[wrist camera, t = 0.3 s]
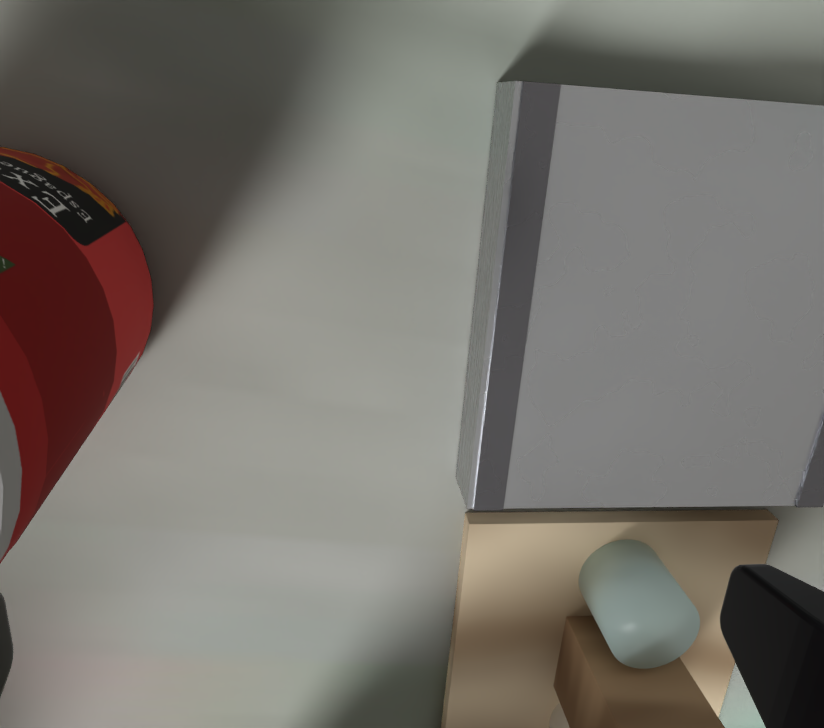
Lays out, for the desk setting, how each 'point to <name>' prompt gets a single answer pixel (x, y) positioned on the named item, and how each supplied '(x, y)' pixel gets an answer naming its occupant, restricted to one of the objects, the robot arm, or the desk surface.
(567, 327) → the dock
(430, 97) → the desk surface
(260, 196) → the desk surface
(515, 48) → the desk surface
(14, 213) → the canned food
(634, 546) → the grey-green round cylinder
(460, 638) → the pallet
